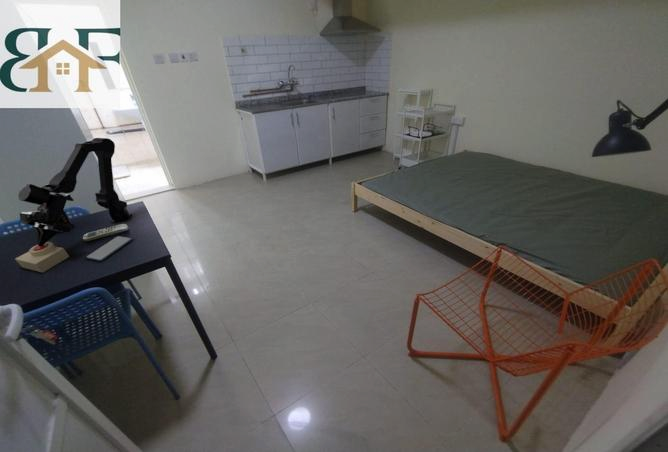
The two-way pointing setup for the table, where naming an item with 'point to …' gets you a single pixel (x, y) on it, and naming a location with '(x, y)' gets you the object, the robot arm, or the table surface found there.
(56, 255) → the power button base
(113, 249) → the smartphone
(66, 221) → the coffee cup
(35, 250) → the power button
